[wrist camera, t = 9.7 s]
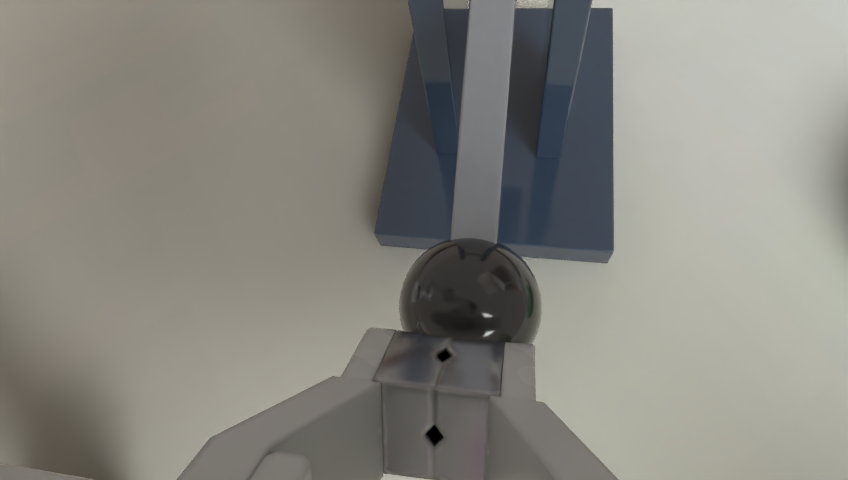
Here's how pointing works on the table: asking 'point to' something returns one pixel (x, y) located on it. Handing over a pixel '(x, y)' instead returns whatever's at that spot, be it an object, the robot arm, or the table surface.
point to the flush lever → (477, 209)
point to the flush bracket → (510, 133)
